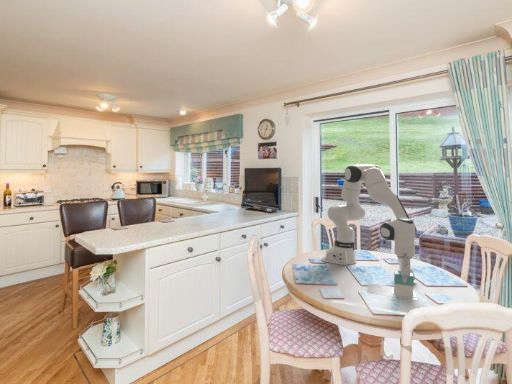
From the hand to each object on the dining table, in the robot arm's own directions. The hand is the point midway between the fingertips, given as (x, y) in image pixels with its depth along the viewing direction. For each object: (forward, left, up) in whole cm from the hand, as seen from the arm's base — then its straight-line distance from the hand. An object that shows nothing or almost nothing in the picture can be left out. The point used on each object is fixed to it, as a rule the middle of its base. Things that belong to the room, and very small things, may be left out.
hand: (403, 278), depth 135 cm
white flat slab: (-5, 0, -8) cm, 10 cm away
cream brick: (0, 0, -8) cm, 8 cm away
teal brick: (0, 0, -2) cm, 2 cm away
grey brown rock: (+3, +17, -9) cm, 19 cm away
